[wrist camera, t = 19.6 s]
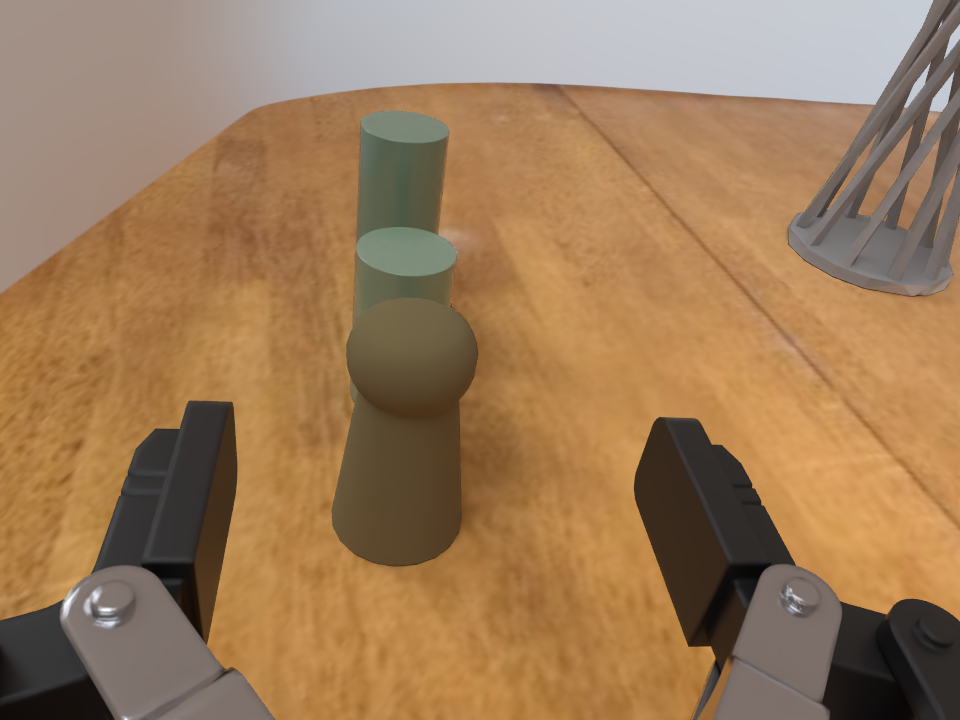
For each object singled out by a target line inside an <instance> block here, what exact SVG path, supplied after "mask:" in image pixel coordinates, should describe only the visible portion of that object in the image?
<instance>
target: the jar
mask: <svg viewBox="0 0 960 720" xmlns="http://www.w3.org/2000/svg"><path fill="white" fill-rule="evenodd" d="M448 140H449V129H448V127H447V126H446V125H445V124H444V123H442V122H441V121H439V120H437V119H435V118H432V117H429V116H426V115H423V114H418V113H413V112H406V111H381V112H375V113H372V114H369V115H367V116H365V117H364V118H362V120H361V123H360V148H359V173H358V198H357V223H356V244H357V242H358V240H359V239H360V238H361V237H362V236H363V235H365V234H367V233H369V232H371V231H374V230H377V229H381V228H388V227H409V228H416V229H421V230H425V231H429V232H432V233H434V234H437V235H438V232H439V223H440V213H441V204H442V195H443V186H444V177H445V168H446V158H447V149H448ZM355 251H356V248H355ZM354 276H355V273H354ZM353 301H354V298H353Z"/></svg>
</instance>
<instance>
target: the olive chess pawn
mask: <svg viewBox="0 0 960 720" xmlns="http://www.w3.org/2000/svg"><path fill="white" fill-rule="evenodd" d="M346 356H347V365H348V371H349V374H350V378H351V380H352V382H353V384H354V385H355V387H356V388H357V390H358V391H357V396H356V400H355V405H354V410H353V414H352V419H351V424H350V428H349V433H348V437H347V442H346V447H345V451H344V456H343V461H342V465H341V470H340V475H339V479H338V484H337V488H336V493H335V498H334V502H333V507H332V521H333V527H334V529H335V531H336V533H337V535H338V537H339V539H340V541H341V542H342V543H343V544H344V545H346V546H347V547H348V548H349V549H350V550H351V551H352V552H353V553H354V554H356V555H359V556H361V557H363V558H365V559H367V560H369V561H371V562H374V563H380V564H385V565H391V566H402V565H415V564H418V563H421V562H424V561H427V560H429V559H432V558H435V557H436V556H438V555H439V554H440V553H442V552H443V551H444V550H446V549H447V548H448V547H450V545H451V544H452V542H453V541H454V539H455V538H456V536H457V535H458V533H459V528H460V523H461V469H460V418H459V399H460V398H461V397H462V396H463V395H464V393H465V392H466V391H467V390H468V388H469V386H470V384H471V382H472V380H473V378H474V374H475V369H476V364H477V359H478V348H477V342H476V339H475V336H474V333H473V331H472V329H471V327H470V325H469V324H468V322H467V321H466V320H465V319H464V318H463V317H462V315H461V314H460V313H458V312H457V311H455V310H453V309H452V308H450V307H448V306H446V305H443V304H441V303H438V302H435V301H432V300H427V299H422V298H396V299H391V300H385V301H382V302H380V303H377V304H375V305H373V306H371V307H370V308H368V309H367V310H366V311H365V312H364V313H363V314H362V315H361V316H360V317H359V318H358V319H357V320H356V322H355V324H354V326H353V328H352V330H351V332H350V335H349V338H348V341H347V355H346Z"/></svg>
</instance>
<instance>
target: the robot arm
mask: <svg viewBox="0 0 960 720" xmlns="http://www.w3.org/2000/svg"><path fill="white" fill-rule="evenodd" d="M236 485H237V451H236V436H235V420H234V407H233V403H232V402H218V401H189V402H188V404H187V406H186V409H185V413H184V416H183V420H182V423H181V426H180V429H155V430H154V431H153V432H152V433H151V434H150V435H149V436H148V437H147V438H146V439H145V440H144V441H143V442H142V443H141V444H140V445H139V446H138V447H137V448H136V450H135V453H134V456H133V459H132V461H131V464H130V467H129V470H128V476H127V477H126V479H125V481H124V484H123V487H122V490H121V496H119V499H118V501H117V504H116V507H115V510H114V513H113V516H112V519H111V521H110V524H109V527H108V530H107V533H106V536H105V539H104V541H103V544H102V547H101V550H100V553H99V556H98V558H97V561H96V564H95V566H94V569H93V571H92V573H91V574H90V575H89V576H87V577H85V578H84V579H83V580H81V581H80V582H79V583H77V584H76V585H75V586H74V587H73V588H72V589H71V591H70V592H69V593H68V594H67V596H66V598H65V599H63V600H61V601H60V602H58V603H56V604H54V605H51V606H49V607H47V608H44V609H41V610H38V611H34V612H31V613H27V614H23V615H20V616H16V617H12V618H8V619H5V620H1V621H0V720H275V718H274V717H273V716H272V714H271V713H270V711H269V710H268V709H267V707H266V706H265V705H264V703H263V702H262V700H261V699H260V698H259V696H258V695H257V694H256V692H255V691H254V689H253V688H252V687H251V685H250V684H249V683H248V681H247V680H246V679H245V677H244V676H243V675H242V674H241V673H240V672H239V671H238V670H236V669H235V668H233V667H230V668H228V669H225V668H223V667H222V666H221V665H220V663H219V662H218V661H217V659H216V658H215V657H214V655H213V654H212V652H211V651H210V650H209V648H208V647H207V643H208V638H209V632H210V627H211V622H212V617H213V611H214V606H215V601H216V595H217V590H218V585H219V580H220V574H221V569H222V564H223V558H224V553H225V548H226V543H227V537H228V532H229V527H230V521H231V516H232V511H233V506H234V500H235V494H236ZM634 493H635V500H636V504H637V507H638V509H639V512H640V515H641V518H642V520H643V523H644V526H645V529H646V531H647V534H648V537H649V540H650V542H651V545H652V548H653V551H654V553H655V556H656V559H657V562H658V564H659V567H660V570H661V572H662V575H663V578H664V581H665V583H666V586H667V589H668V592H669V594H670V597H671V600H672V603H673V605H674V608H675V611H676V614H677V616H678V619H679V622H680V625H681V627H682V630H683V633H684V636H685V638H686V641H687V644H688V647H699V646H711V647H712V650H713V652H714V655H715V657H716V658H715V660H714V662H713V664H712V666H711V667H710V670H709V672H708V675H707V678H706V680H705V683H704V685H703V688H702V691H701V693H700V696H699V698H698V701H697V703H696V706H695V709H694V711H693V714H692V716H691V719H690V720H960V621H959V620H958V619H956V618H955V617H954V616H953V615H951V614H950V613H949V612H947V611H946V610H944V609H942V608H941V607H939V606H937V605H934V604H932V603H929V602H927V601H923V600H918V599H905V600H901V601H899V602H897V603H896V604H895V605H894V606H893V607H892V609H891V610H890V611H889V613H888V614H887V615H886V614H882V613H879V612H875V611H872V610H868V609H864V608H861V607H857V606H854V605H850V604H847V603H844V602H841V601H839V599H838V597H837V595H836V594H835V593H834V591H833V590H832V589H831V587H830V586H829V585H828V584H827V583H826V582H825V581H823V580H822V579H821V578H820V577H818V576H817V575H815V574H814V573H812V572H810V571H808V570H806V569H804V568H801V567H798V566H796V564H795V563H794V561H793V559H792V557H791V555H790V553H789V551H788V550H787V548H786V546H785V544H784V542H783V540H782V538H781V537H780V535H779V533H778V531H777V529H776V527H775V525H774V524H773V522H772V520H771V518H770V516H769V514H768V512H767V511H766V509H765V507H764V506H762V505H761V499H760V498H759V496H758V494H757V492H756V490H755V489H753V488H752V483H751V481H750V479H749V477H748V475H747V473H746V472H745V470H744V468H743V466H742V464H741V463H740V462H739V461H738V460H737V459H736V458H735V457H734V456H733V455H732V454H731V453H729V452H728V451H727V450H726V449H725V448H724V447H723V446H722V445H712V444H711V442H710V440H709V438H708V436H707V435H706V433H705V431H704V429H703V427H702V425H701V423H700V422H699V421H698V420H697V419H695V418H668V417H659V418H657V419H656V420H655V422H654V424H653V426H652V429H651V432H650V434H649V437H648V440H647V443H646V445H645V448H644V451H643V454H642V457H641V459H640V462H639V465H638V468H637V471H636V474H635V481H634Z"/></svg>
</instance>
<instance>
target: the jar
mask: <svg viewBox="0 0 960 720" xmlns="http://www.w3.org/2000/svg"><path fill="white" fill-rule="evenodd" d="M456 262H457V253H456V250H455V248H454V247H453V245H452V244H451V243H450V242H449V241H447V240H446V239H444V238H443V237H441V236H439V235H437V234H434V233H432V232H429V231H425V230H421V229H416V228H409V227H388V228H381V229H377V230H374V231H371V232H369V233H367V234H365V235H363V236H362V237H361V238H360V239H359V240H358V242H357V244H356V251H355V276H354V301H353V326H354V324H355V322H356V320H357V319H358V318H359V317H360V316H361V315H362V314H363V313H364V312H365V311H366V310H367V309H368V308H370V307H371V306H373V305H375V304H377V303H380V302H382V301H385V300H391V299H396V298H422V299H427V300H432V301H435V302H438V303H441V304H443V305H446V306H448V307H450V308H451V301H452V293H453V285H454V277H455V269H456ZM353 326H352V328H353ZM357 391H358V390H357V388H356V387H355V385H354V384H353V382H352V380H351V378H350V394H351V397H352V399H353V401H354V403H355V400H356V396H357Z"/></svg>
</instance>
